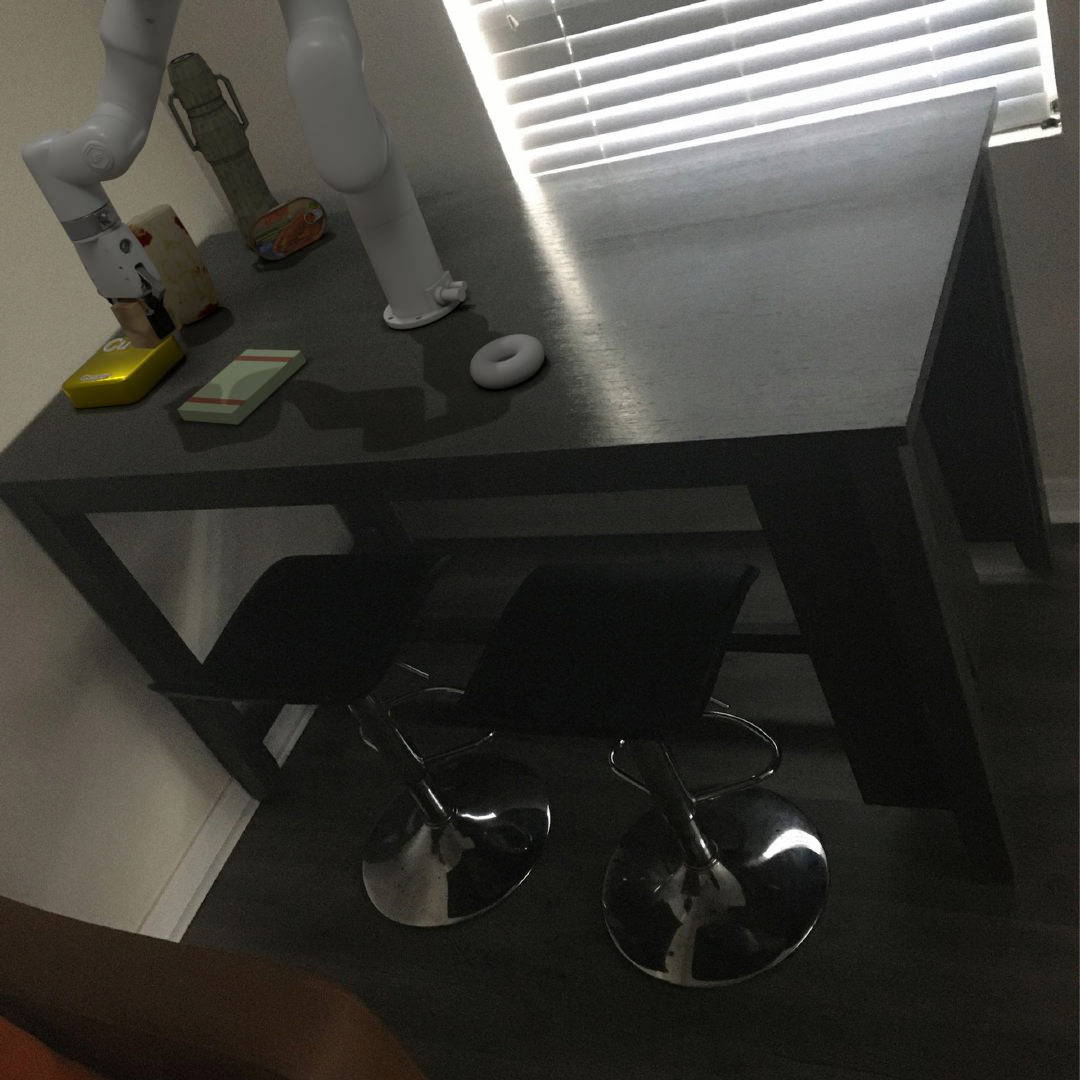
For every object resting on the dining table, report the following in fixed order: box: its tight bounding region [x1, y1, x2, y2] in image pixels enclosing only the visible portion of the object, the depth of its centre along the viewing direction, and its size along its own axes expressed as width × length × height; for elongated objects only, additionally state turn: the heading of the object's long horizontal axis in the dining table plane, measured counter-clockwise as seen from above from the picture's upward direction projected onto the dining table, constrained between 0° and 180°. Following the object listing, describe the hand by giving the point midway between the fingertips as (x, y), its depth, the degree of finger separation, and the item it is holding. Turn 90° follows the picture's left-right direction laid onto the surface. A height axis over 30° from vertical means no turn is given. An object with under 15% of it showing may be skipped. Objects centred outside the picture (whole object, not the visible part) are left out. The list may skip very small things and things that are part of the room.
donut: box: [469, 333, 545, 390], centre depth 139 cm, size 10×4×10 cm
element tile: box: [61, 333, 185, 409], centre depth 175 cm, size 15×15×5 cm
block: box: [109, 287, 183, 349], centre depth 161 cm, size 5×6×7 cm
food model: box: [125, 203, 220, 326], centre depth 184 cm, size 10×7×20 cm
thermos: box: [166, 51, 280, 249], centre depth 201 cm, size 9×12×35 cm
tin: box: [249, 195, 328, 261], centre depth 200 cm, size 15×3×8 cm, turn 120°
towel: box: [176, 348, 307, 426], centre depth 160 cm, size 12×16×2 cm
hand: (155, 332), depth 162 cm, fingers closed on block, 5 cm apart
